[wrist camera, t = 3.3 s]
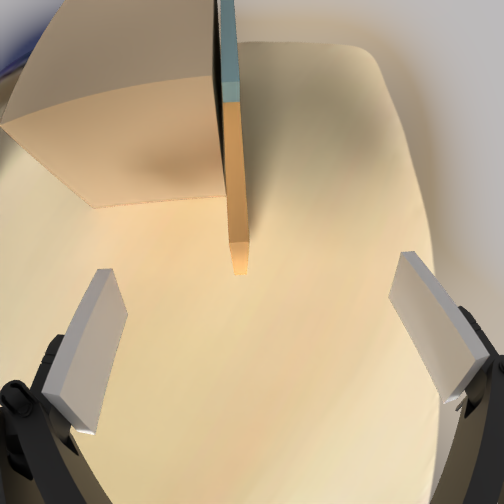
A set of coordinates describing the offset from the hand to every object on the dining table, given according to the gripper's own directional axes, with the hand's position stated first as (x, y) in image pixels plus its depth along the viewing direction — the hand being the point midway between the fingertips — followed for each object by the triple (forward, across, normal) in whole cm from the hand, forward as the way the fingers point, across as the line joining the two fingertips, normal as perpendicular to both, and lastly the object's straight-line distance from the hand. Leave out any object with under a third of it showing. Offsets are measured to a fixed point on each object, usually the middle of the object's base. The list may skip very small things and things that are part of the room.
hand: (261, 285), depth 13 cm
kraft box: (+18, -8, +4) cm, 20 cm away
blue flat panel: (+15, -1, +2) cm, 15 cm away
